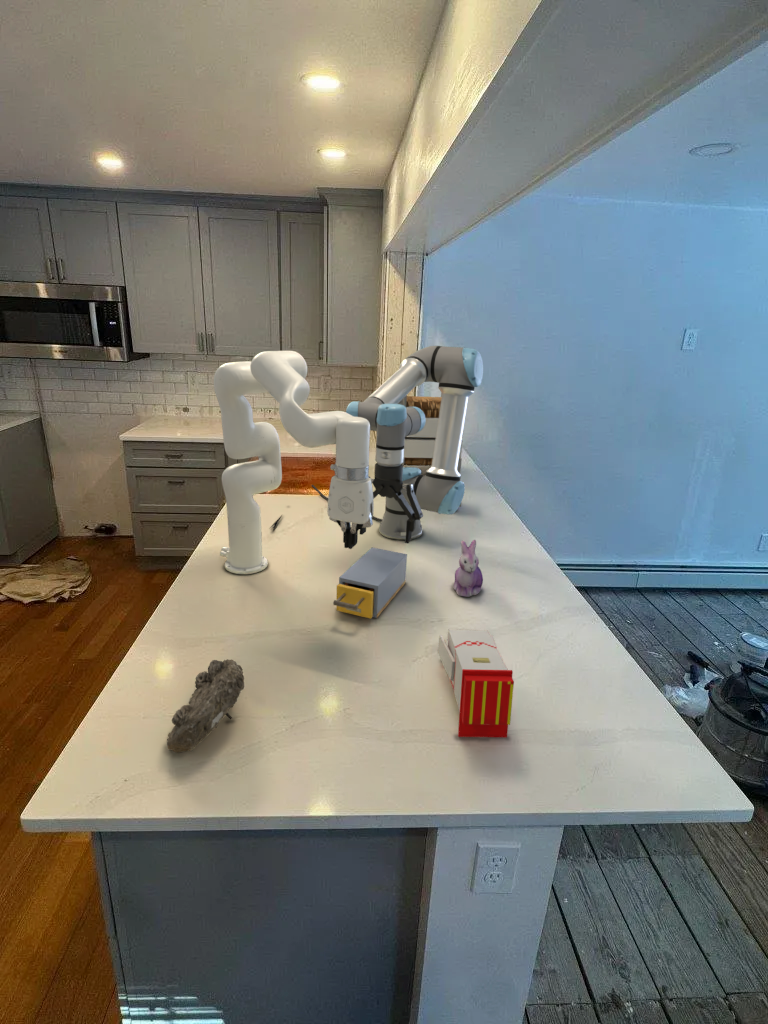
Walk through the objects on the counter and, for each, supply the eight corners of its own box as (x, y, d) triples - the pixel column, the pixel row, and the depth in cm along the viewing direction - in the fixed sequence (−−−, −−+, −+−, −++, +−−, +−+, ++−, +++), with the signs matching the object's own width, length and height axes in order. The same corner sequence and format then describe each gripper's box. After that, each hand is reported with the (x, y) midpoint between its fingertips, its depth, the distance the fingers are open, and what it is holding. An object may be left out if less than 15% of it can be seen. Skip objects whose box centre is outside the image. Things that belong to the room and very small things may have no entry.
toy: (488, 613, 130) (523, 677, 101) (484, 667, 133) (517, 744, 104) (435, 612, 130) (455, 676, 101) (432, 666, 133) (451, 743, 103)
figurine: (464, 601, 155) (469, 550, 150) (443, 585, 164) (448, 537, 159) (492, 594, 159) (497, 545, 154) (470, 579, 168) (475, 532, 163)
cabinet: (376, 618, 145) (378, 586, 142) (338, 608, 149) (339, 577, 146) (405, 583, 164) (407, 554, 161) (370, 575, 168) (371, 547, 165)
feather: (289, 509, 222) (291, 505, 221) (271, 533, 195) (274, 529, 195) (285, 506, 222) (288, 503, 221) (267, 531, 195) (270, 526, 195)
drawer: (361, 629, 138) (362, 603, 135) (326, 620, 141) (326, 595, 139) (398, 585, 161) (400, 562, 158) (367, 578, 164) (368, 555, 161)
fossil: (192, 660, 117) (244, 628, 112) (224, 691, 120) (276, 661, 115) (142, 746, 98) (202, 712, 93) (182, 779, 101) (242, 748, 96)
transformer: (382, 463, 289) (386, 382, 275) (445, 464, 293) (451, 384, 279) (390, 482, 257) (394, 392, 243) (460, 483, 261) (468, 394, 247)
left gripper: (314, 471, 128) (314, 546, 134) (376, 481, 123) (373, 558, 129) (329, 464, 134) (329, 535, 141) (388, 472, 129) (385, 546, 136)
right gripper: (340, 459, 152) (338, 533, 159) (429, 473, 143) (423, 550, 150) (352, 454, 158) (350, 525, 165) (438, 466, 150) (432, 540, 157)
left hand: (350, 546), depth 135 cm, fingers closed
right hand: (385, 537), depth 158 cm, fingers open, 13 cm apart
